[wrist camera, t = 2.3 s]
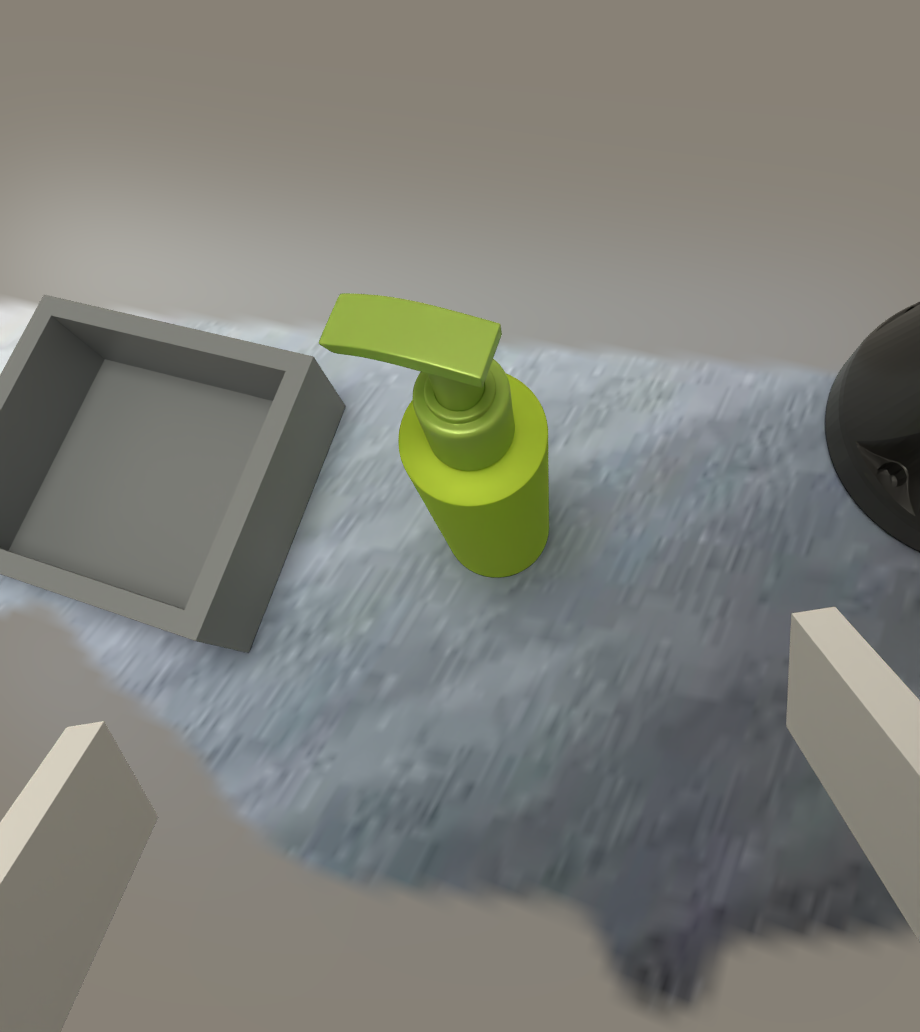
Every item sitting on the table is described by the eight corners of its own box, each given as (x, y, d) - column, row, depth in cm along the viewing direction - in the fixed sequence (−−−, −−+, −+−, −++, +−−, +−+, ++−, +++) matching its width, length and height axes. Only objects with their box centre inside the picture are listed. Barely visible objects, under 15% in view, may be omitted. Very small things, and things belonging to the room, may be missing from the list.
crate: (345, 406, 42) (313, 356, 36) (248, 653, 38) (195, 640, 32) (107, 347, 46) (44, 294, 40) (-4, 567, 42) (-91, 542, 36)
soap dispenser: (449, 464, 40) (357, 230, 21) (561, 494, 38) (572, 273, 20) (416, 555, 38) (286, 392, 20) (531, 590, 37) (511, 452, 18)
